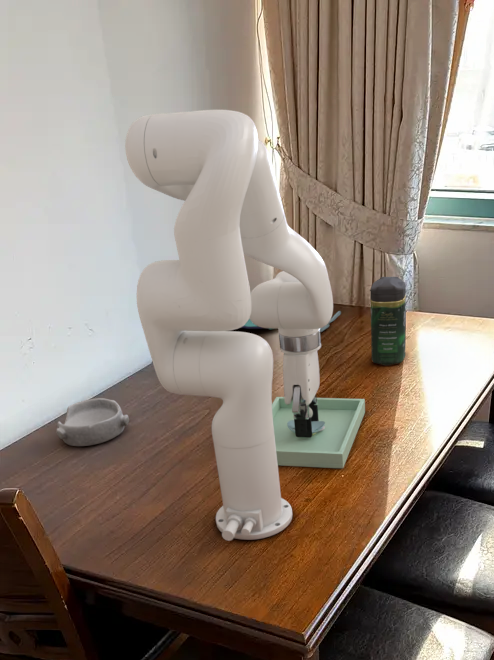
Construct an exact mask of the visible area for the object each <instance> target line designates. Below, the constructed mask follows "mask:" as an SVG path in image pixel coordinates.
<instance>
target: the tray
mask: <svg viewBox="0 0 494 660" xmlns="http://www.w3.org/2000/svg"><path fill="white" fill-rule="evenodd" d="M301 402H302V400H301ZM314 405H318V419H319V421H324V422H325V425H324V426H325V428H324V430H322V431H319V432H316V434H314V435H312V437H310V438H309V437H296V435H295V433H294V432H292V431H291V430H290V429H289V428H288V426H287V423H288V422H289V421H291V420H294V414H293V413H292V406H293V400H292V402H291V403H290V404H289V405H286V404H285V400H284V396H276V397H275V398H274V399H273V401H272V414H273V425H274V435H275V444H276V453H277V463H278V466H280V467H281V466H283V467H285V466H286V467H303V468H304V467H305V468H321V469H322V468H324V469H326V468H327V469H344V468H345V465H346V462H347V460H348V457H349V454H350V452H351V449H352V447H353V445H354V442H355V439H356V436H357V434H358V431H359V429H360V426H361V424H362V421H363V419H364V416H365V414H366V400H365V398H344V397H343V398H339V397H317V404H314Z"/></svg>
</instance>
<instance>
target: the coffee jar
mask: <svg viewBox="0 0 494 660" xmlns="http://www.w3.org/2000/svg"><path fill="white" fill-rule="evenodd" d="M369 293H370V294H369V295H370V300H369V301H370V337H371V338H370V340H371V343H370V345H371V349H370V350H371V361H372V363H373V364H377V365H381V366H392V365H397V364H401V363H403V361H404V360H405V358H406V349H407V347H406V344H407V343H406V340H407V339H406V335H407V333H406V331H407V330H406V329H407V299H406V298H407V295H406V294H407V293H406V282H405V281H404V280H403V279H401V278H400V277H399V276H381V277H380V278H378V279H377V280H375V281H374V282H372V285H371V287H370V289H369Z"/></svg>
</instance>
